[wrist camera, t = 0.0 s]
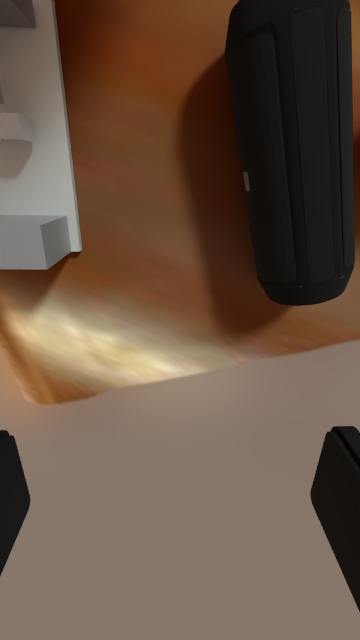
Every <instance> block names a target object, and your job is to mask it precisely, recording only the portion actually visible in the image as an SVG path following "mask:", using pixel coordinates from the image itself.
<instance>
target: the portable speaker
mask: <svg viewBox="0 0 360 640" xmlns="http://www.w3.org/2000/svg"><path fill="white" fill-rule="evenodd" d="M225 59H226V64H227V71H228V78H229V84H230V91H231V98H232V105H233V111H234V118H235V125H236V132H237V139H238V145H239V152H240V159H241V166H242V173H243V179H244V186H245V193H246V200H247V207H248V213H249V220H250V227H251V234H252V240H253V247H254V254H255V261H256V268H257V275H258V276H257V278H258V280H259V282H260V284H261V286H262V287H263V289H264V291H265V292H266V294H267V296H268V297H269V299H271V300H272V301H274V302H276V303H279V304H283V305H291V306H301V305H313V304H318V303H322V302H326V301H329V300H332V299H334V298H336V297H338V296H339V295H341V294H342V293H343V292H344V290H345V288H346V286H347V283H348V281H349V279H350V276H351V273H352V271H353V268H354V262H355V243H354V175H353V106H352V38H351V11H350V4H349V0H239V2H238V3H237V4H236V5H235V6H234V7H233V9H232V11H231V13H230V17H229V24H228V32H227V39H226V47H225Z"/></svg>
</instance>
